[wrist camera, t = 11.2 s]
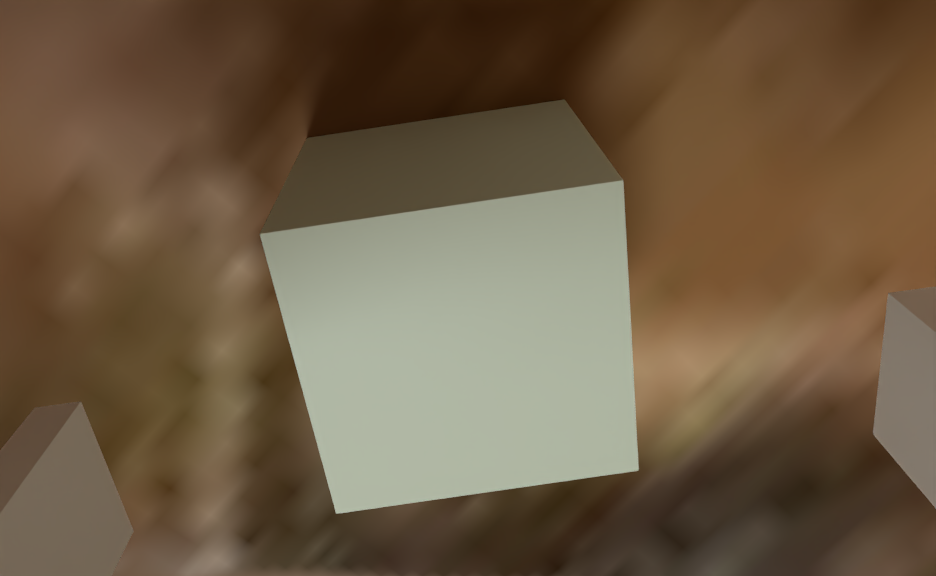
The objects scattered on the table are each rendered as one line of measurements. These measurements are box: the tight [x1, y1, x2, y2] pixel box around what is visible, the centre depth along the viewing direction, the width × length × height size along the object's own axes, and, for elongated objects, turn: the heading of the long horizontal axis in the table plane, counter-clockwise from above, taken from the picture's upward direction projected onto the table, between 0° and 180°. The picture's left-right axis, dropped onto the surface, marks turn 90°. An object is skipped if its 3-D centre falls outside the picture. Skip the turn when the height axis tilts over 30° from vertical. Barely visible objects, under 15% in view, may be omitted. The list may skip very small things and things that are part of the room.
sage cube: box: [260, 99, 639, 514], centre depth 17 cm, size 6×6×6 cm
